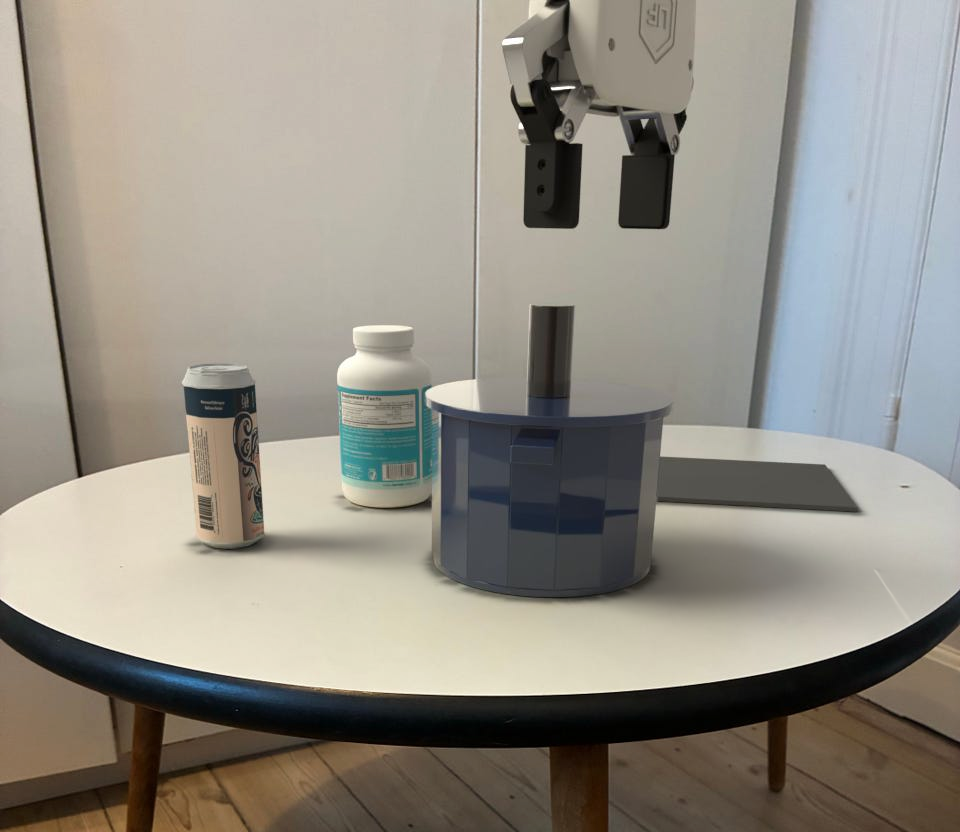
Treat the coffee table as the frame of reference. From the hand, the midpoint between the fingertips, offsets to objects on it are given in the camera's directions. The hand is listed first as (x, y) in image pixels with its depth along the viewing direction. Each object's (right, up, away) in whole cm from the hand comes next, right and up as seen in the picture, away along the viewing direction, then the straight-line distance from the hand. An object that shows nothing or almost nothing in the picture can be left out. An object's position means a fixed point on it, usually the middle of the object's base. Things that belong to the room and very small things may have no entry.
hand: (599, 228), depth 58 cm
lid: (-2, -8, +8) cm, 12 cm away
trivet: (+17, -9, +34) cm, 39 cm away
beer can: (-24, -16, +15) cm, 33 cm away
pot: (-3, -18, +12) cm, 22 cm away
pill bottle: (-14, -12, +27) cm, 32 cm away
